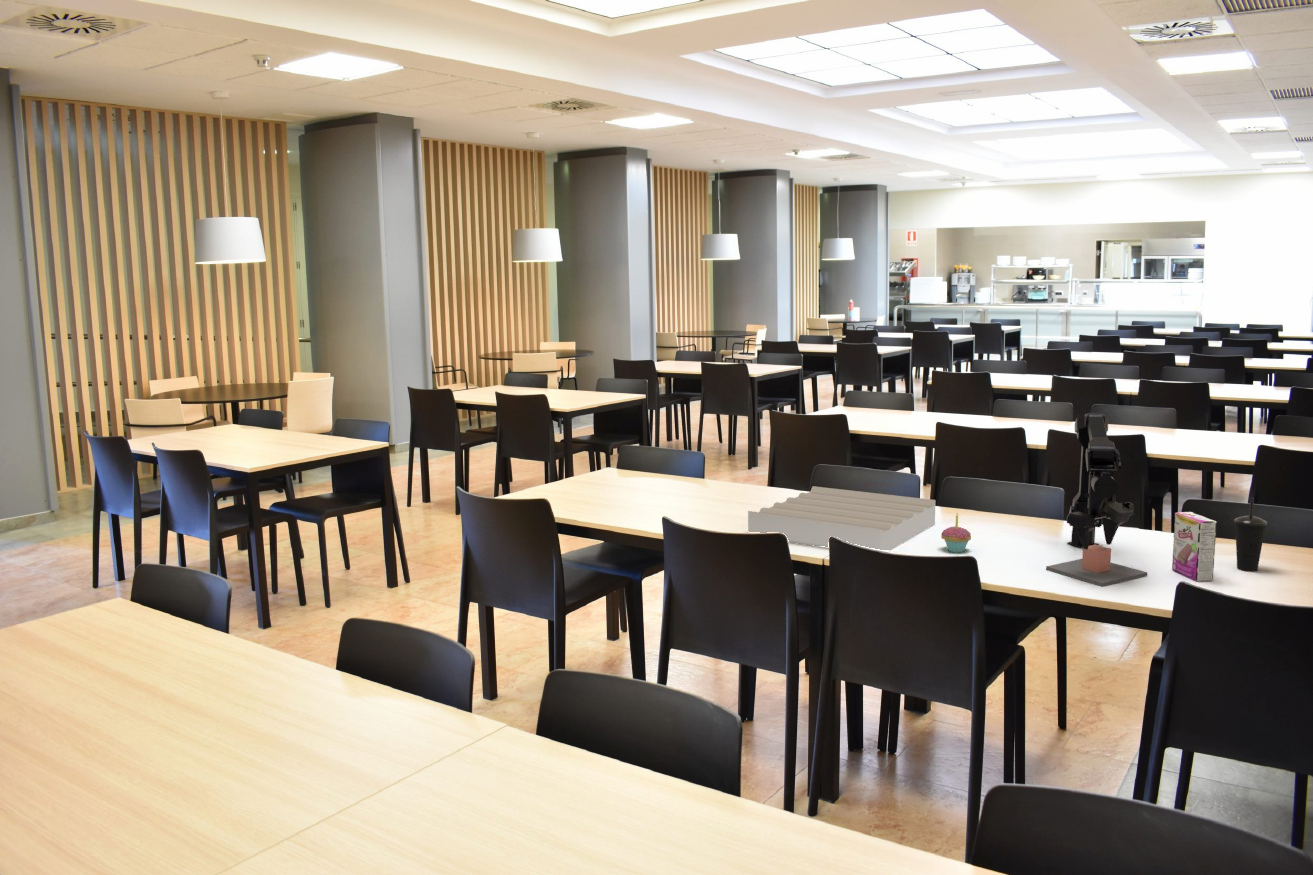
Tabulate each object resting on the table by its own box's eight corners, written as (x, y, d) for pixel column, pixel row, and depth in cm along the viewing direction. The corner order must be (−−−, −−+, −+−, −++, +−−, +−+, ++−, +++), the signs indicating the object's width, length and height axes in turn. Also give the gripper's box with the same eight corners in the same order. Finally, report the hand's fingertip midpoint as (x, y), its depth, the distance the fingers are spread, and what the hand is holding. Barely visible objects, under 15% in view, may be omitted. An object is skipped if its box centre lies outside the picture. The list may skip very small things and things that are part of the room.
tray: (812, 510, 350) (812, 486, 348) (934, 526, 324) (935, 499, 322) (748, 538, 314) (748, 510, 312) (880, 558, 288) (880, 528, 286)
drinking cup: (1224, 565, 271) (1229, 495, 268) (1250, 564, 271) (1255, 494, 268) (1243, 573, 263) (1248, 501, 260) (1270, 572, 264) (1275, 500, 261)
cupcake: (972, 554, 287) (973, 514, 286) (942, 553, 289) (943, 514, 287) (968, 546, 296) (969, 508, 294) (939, 546, 297) (940, 507, 295)
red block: (1094, 565, 270) (1095, 544, 269) (1110, 570, 266) (1111, 548, 265) (1081, 568, 268) (1082, 547, 267) (1097, 572, 263) (1098, 551, 262)
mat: (1090, 560, 279) (1090, 556, 279) (1147, 575, 263) (1147, 572, 263) (1046, 569, 271) (1046, 566, 270) (1102, 586, 255) (1102, 582, 255)
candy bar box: (1170, 570, 268) (1173, 512, 265) (1187, 569, 268) (1191, 511, 266) (1195, 582, 257) (1199, 521, 254) (1214, 581, 257) (1218, 520, 255)
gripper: (1102, 500, 252) (1099, 558, 254) (1149, 491, 260) (1146, 548, 263) (1066, 492, 262) (1064, 549, 264) (1113, 484, 270) (1110, 539, 272)
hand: (1097, 546), depth 266 cm, fingers open, 9 cm apart
